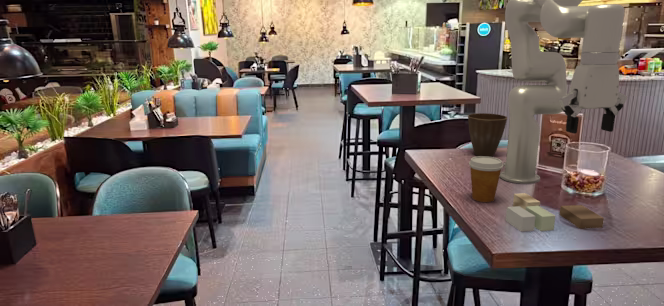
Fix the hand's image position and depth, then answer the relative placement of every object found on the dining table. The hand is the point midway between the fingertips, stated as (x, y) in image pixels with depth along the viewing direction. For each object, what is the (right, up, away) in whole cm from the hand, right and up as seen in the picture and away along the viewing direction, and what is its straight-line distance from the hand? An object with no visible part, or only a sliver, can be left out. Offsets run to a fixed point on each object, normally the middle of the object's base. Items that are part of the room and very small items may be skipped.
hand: (589, 131), depth 108 cm
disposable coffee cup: (-17, -19, +25) cm, 36 cm away
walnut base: (+2, -23, +8) cm, 25 cm away
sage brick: (-10, -24, +6) cm, 26 cm away
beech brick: (-9, -21, +15) cm, 28 cm away
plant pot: (0, -6, +74) cm, 74 cm away
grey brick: (-15, -24, +6) cm, 29 cm away
